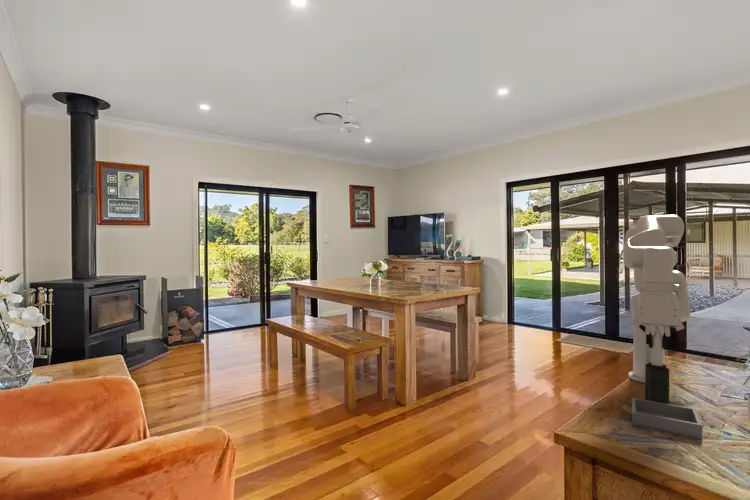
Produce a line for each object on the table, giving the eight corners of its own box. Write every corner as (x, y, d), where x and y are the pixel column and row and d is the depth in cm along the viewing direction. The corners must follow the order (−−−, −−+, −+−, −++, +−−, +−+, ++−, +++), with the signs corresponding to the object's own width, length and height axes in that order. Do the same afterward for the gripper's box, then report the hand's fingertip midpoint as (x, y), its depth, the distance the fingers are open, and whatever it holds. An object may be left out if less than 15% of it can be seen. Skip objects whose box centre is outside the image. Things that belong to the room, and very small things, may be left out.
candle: (670, 412, 118) (671, 328, 118) (651, 410, 119) (652, 328, 119) (662, 405, 123) (662, 325, 123) (643, 403, 124) (644, 324, 124)
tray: (631, 410, 120) (631, 397, 119) (695, 422, 111) (695, 408, 111) (632, 425, 109) (632, 412, 109) (702, 440, 101) (702, 425, 101)
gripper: (689, 288, 119) (689, 348, 120) (625, 285, 128) (625, 341, 128) (693, 290, 113) (693, 354, 113) (625, 287, 122) (625, 347, 122)
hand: (657, 347), depth 121 cm, fingers closed on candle, 3 cm apart
